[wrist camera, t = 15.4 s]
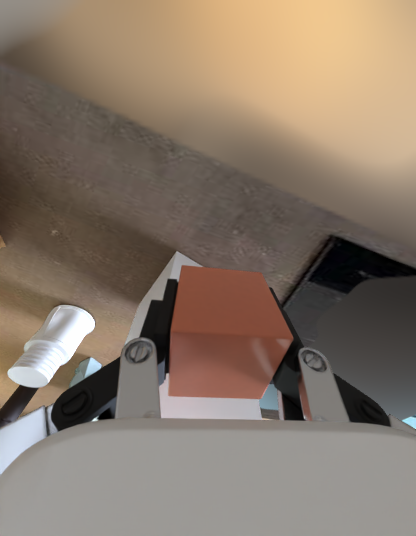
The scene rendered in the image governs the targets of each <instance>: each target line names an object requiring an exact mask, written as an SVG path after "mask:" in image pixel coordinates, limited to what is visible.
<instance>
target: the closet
mask: <svg viewBox="0 0 416 536" xmlns="http://www.w3.org/2000/svg"><path fill="white" fill-rule="evenodd" d="M4 246H5V243H4V241H3V239H2V236H1V234H0V248H2V247H4Z"/></svg>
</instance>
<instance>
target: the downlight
mask: <svg viewBox="0 0 416 536" xmlns="http://www.w3.org/2000/svg"><path fill="white" fill-rule="evenodd" d="M94 326H95V323H94V320H93V318H92V316H91V315H90V314H89V313H87V312H86V311H85V310H83V309H81V308H79V307H76V306H72V305H60V306H57V307H55V308H53V309H52V310H51V312H50V313H49V315H48V317H47V318H46V320H45V322H44V324H43V325H42V327H41V328H40V329H39V330H38V331H37V332H36V333H35V334H34V336H33V337H32V338H31V339H30V340H29V341H28V342H27V343H26V344H25V346H24V351H25V353H24V354H23V355H22V356H21V357H20V358H19V359H18V360H17V361H16V363H15V364H14V365H13V366H12V367H11V368H10V369H9V370H8V376H9V378H10V379H11V380H13V381H14V382H16V383H18V384H20V385H23V386H27V387H33V388H38V387H43V386H45V385H47V384H48V382H49V381H50V379H51V378H52V376H53V375H54V373H55V372H56V370H57V369H58V367H59V366H60V365H64V364H66V363H67V362H68V361H69V359H70V358H71V357H72V355H73V354H74V352H75V350H76V348H77V347H78V345H79V344H80V342H81V341H82V339H83V337H84V336H85V335H86V334H89V333H90V332H91V331H92V330H93V329H94Z"/></svg>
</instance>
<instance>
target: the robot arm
mask: <svg viewBox="0 0 416 536" xmlns="http://www.w3.org/2000/svg"><path fill="white" fill-rule="evenodd" d="M178 283H179V282H177V279H169V278H168V280H167V283H166V287H165V291H164V295H163V299H162V300H153V299H152V300H151V302H150V305H149V308H148V312H147V315H146V318H145V321H144V324H143V327H142V330H141V333H140V336H139V338H135V339H133V340H131V341H129V342H128V343H127V344H126V345H125V346H124V347H123V349H122V352H121V356H120V357H119V358H117V359H116V360H114V361H112V362H111V363H109V364H108V365H106V366H104V367H103V368H101V369H100V370H98V371H96V372H95V373H93V374H91V375H90V376H88V377H87V378H85V379H83V380H82V381H80V382H79V383H77V384H75V385H74V386H72V387H70V388H69V389H68V390H66V391H65V392H64V393H62V394H61V395H60V397H59V398H58V399H57V400H56V402H55V403H53V404H51V405H49V406H47V407H45V406H42V407H40V408H38V409H36V410H34V411H32V412H30V413H28V414H26V415H24V416H22V417H20V418H18V419H16V420H14V421H13V422H11V423H9V424H7V425H5V426H3V427H1V428H0V536H416V429H414V428H413V427H411V426H409V425H408V424H406V423H404V422H402V421H401V420H399V419H397V418H396V417H394V416H392V415H390V414H389V415H388V416H387V415H386V413H385V412H384V411H383V409H382V408H381V407H380V406H379V405H378V404H377V403H376V402H375V401H374V400H372V399H371V398H369V397H368V396H367V395H365V394H364V393H362V392H361V391H359V390H357V389H356V388H355V387H353V386H352V385H350V384H349V383H347V382H346V381H344V380H342V379H341V378H340V377H339V376H337V375H336V374H334V373H333V372H332V369H331V367H330V364H329V362H328V360H327V359H326V358H325V356H324V355H322V354H321V353H320V352H318V351H317V350H315V349H313V348H310V347H304V346H303V344H302V342H301V340H300V338H299V336H298V334H297V333H296V331H295V329H294V327H293V325H292V323H291V321H290V319H289V317H288V315H287V313H286V312H285V311H284V310H283V308H282V306H281V304H280V302H279V300H278V299H277V297H276V295H275V293H274V291H273V289H272V288H271V287H269V289H270V291H271V293H272V295H273V297H274V299H275V301H276V303H277V306H278V308H279V310H280V312H281V314H282V316H283V318H284V320H285V322H286V324H287V326H288V328H289V330H290V332H291V334H292V336H293V341H292V343H291V344H290V346H289V348H288V350H287V352H286V354H285V356H284V357H283V359H282V361H281V363H280V365H279V367H278V368H277V370H276V372H275V374H274V376H273V378H272V380H271V381H270V383H269V384H274V386H275V387H276V388H277V395H278V407H279V419H280V420H244V419H187V418H161V409H160V395H159V386H161V385H162V384H163V383H164V380H166V373H169V355H170V333H171V325H172V319H173V313H174V307H175V301H176V295H177V289H178Z"/></svg>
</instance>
